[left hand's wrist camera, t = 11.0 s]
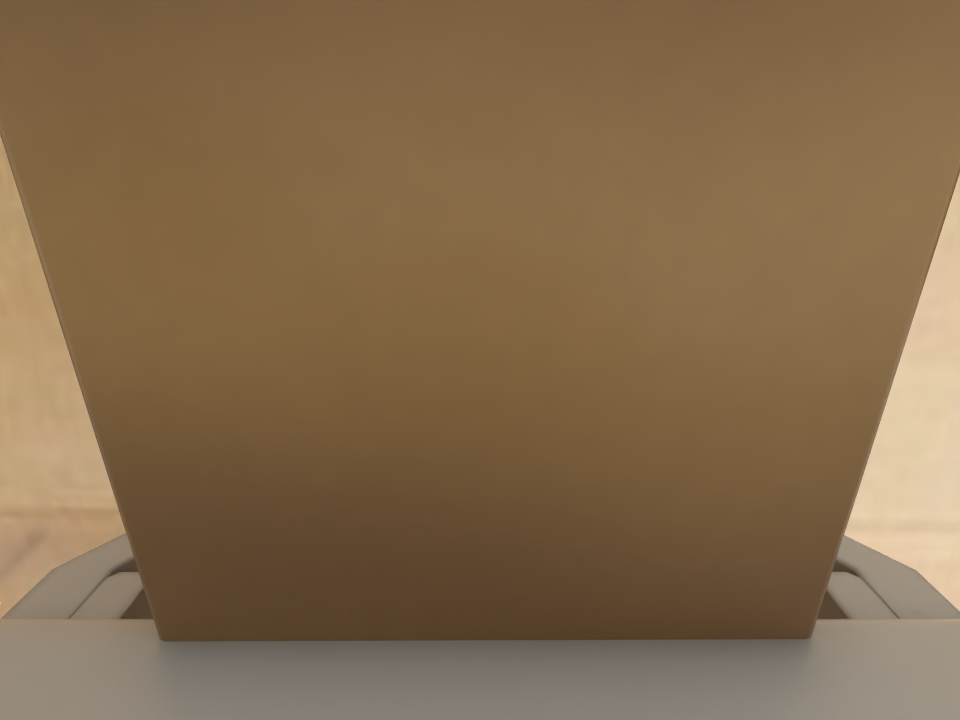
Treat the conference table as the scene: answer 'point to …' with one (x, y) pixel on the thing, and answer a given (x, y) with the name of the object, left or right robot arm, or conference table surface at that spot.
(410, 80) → the box
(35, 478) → the conference table surface
